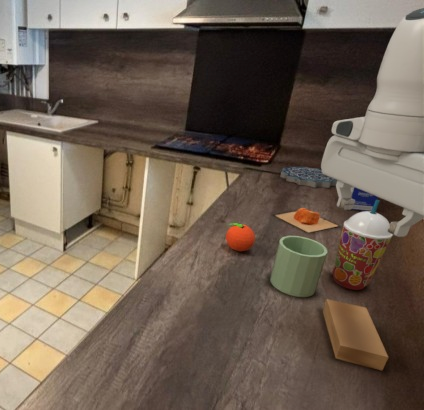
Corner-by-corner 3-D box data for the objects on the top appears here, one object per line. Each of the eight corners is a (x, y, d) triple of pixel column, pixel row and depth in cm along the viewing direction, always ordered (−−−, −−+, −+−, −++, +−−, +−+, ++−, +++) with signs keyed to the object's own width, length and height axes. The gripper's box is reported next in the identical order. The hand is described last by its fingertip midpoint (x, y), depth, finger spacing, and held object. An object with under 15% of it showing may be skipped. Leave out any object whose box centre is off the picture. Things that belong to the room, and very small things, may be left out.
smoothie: (318, 276, 82) (343, 196, 74) (343, 268, 85) (370, 190, 77) (354, 297, 75) (386, 211, 67) (380, 289, 78) (414, 205, 70)
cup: (311, 278, 82) (323, 240, 78) (317, 301, 74) (331, 260, 70) (269, 270, 85) (278, 232, 81) (271, 291, 77) (281, 251, 73)
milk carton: (347, 209, 117) (366, 149, 109) (340, 201, 123) (358, 144, 115) (373, 211, 115) (394, 151, 107) (364, 203, 121) (384, 145, 113)
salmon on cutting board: (302, 210, 116) (306, 198, 114) (338, 226, 106) (342, 213, 104) (274, 215, 112) (277, 203, 111) (308, 232, 102) (312, 219, 100)
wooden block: (361, 319, 69) (366, 307, 68) (382, 370, 58) (388, 357, 57) (322, 311, 72) (326, 299, 70) (335, 358, 61) (340, 345, 59)
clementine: (215, 247, 95) (219, 223, 92) (228, 238, 99) (233, 215, 96) (244, 259, 89) (249, 234, 86) (257, 250, 93) (262, 225, 90)
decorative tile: (272, 171, 154) (273, 165, 153) (319, 171, 153) (321, 166, 152) (295, 187, 135) (297, 181, 134) (349, 188, 134) (351, 182, 133)
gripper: (506, 150, 42) (457, 252, 47) (358, 119, 60) (335, 195, 66) (461, 153, 41) (416, 256, 46) (325, 120, 59) (304, 197, 65)
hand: (368, 220), depth 56 cm, fingers open, 8 cm apart
